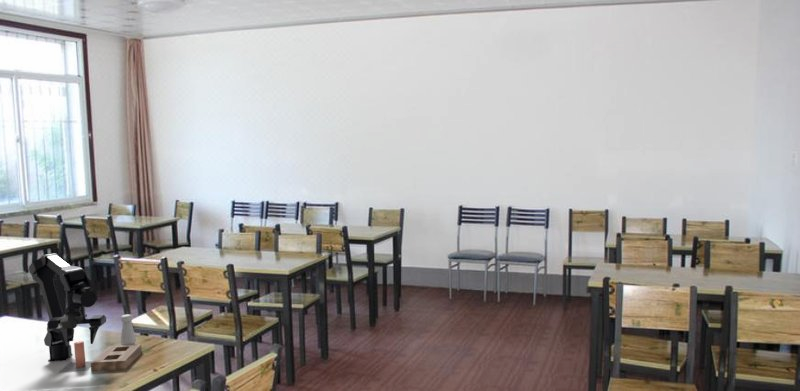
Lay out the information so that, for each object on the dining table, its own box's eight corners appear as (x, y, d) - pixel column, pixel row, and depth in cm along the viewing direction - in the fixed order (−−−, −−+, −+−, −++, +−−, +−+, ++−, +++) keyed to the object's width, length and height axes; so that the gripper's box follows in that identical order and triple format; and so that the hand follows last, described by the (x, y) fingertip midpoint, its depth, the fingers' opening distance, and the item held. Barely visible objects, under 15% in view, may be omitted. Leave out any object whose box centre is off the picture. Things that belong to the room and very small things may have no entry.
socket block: (91, 372, 222) (90, 362, 221) (110, 354, 239) (109, 346, 239) (125, 369, 223) (125, 360, 222) (141, 352, 240) (141, 344, 240)
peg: (74, 368, 225) (72, 344, 224) (78, 365, 228) (76, 341, 227) (83, 367, 225) (81, 343, 225) (87, 364, 229) (85, 340, 228)
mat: (57, 373, 221) (57, 372, 221) (69, 363, 231) (69, 362, 231) (86, 371, 222) (86, 370, 222) (97, 361, 232) (97, 360, 232)
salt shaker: (130, 349, 245) (127, 317, 244) (117, 348, 246) (115, 317, 245) (139, 344, 251) (137, 313, 250) (126, 343, 252) (124, 312, 251)
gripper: (38, 310, 216) (41, 353, 217) (93, 307, 218) (96, 350, 219) (52, 302, 227) (56, 343, 228) (105, 299, 229) (108, 340, 230)
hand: (78, 344), depth 226 cm, fingers open, 9 cm apart
